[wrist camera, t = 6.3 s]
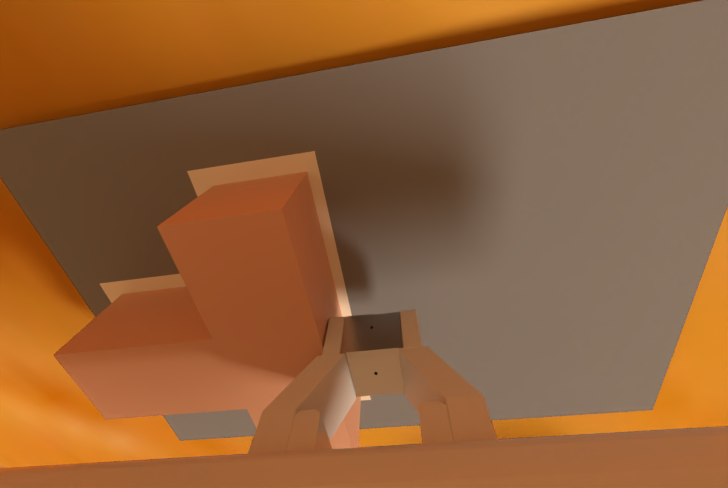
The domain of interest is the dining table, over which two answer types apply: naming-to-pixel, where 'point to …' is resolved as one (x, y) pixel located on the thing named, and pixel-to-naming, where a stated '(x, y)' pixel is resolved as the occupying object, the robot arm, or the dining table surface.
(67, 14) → the dining table surface
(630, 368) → the t mat
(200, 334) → the t block
